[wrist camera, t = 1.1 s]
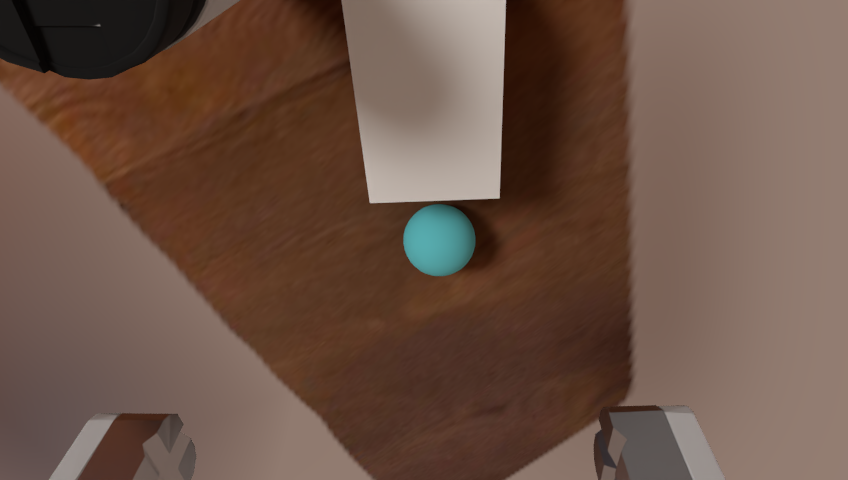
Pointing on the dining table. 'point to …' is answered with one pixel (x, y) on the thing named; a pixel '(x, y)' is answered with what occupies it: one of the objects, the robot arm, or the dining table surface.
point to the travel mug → (97, 32)
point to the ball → (439, 240)
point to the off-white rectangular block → (428, 96)
